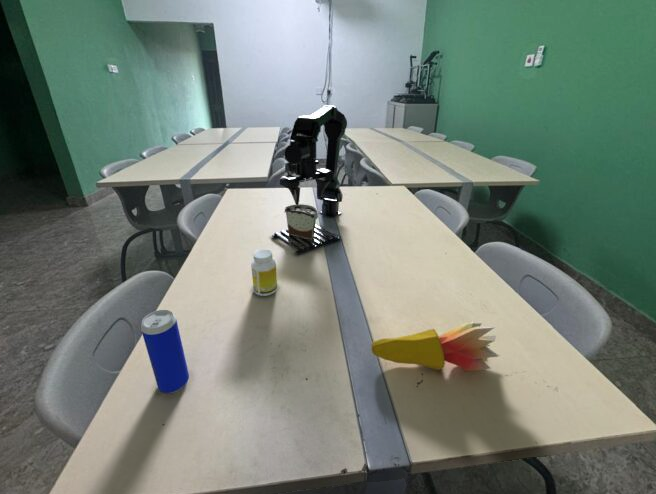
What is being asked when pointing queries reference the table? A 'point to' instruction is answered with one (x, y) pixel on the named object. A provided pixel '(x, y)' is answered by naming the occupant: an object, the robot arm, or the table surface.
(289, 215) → the food container
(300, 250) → the drying rack
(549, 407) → the table surface
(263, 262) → the pill bottle
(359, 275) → the table surface
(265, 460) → the table surface
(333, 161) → the robot arm
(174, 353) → the beverage can
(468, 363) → the torch
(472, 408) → the table surface
